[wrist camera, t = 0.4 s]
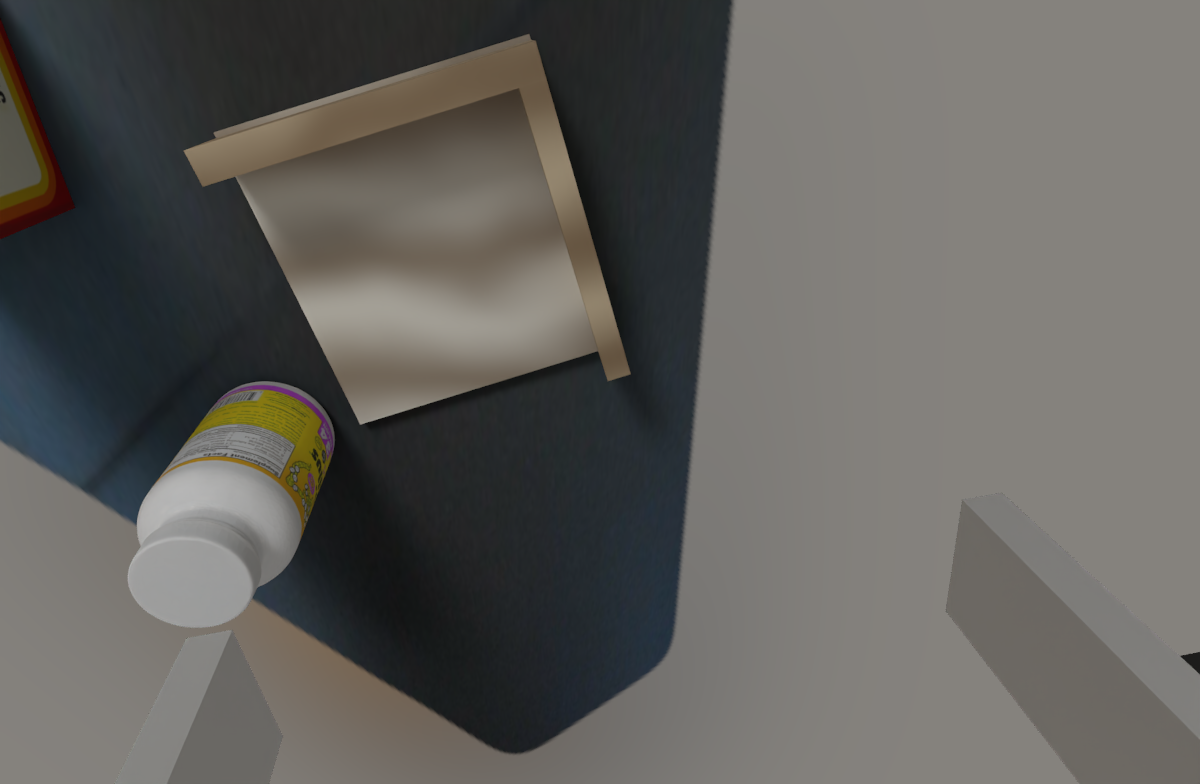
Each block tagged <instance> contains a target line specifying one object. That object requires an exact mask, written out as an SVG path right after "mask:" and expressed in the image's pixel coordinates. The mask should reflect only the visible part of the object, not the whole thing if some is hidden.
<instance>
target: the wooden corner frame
mask: <svg viewBox="0 0 1200 784" xmlns="http://www.w3.org/2000/svg"><path fill="white" fill-rule="evenodd" d="M214 135H215V137H216V138H215V139H213V140H210V141H208V142H205V143H202V144H200V145H197V146H194V147H192V148H189V149H187V150H184V152H185V154H186V156H187V158H188V160H189V162H190V163H191V165H192V167H193V169H194V171H195V173H196V175H197V177H198V179H199V181H200V182H201V184H202V186H206V185H210V184H213V183H216V182H219V181H222V180H226V179H229V178H232V177H236V179H237V181H238V183H239V184H240V186H241V188H242V190H243V192H244V194H245V196H246V198H247V200H248V202H249V204H250V206H251V208H252V210H253V212H254V214H255V216H256V218H257V220H258V222H259V224H260V226H261V228H262V230H263V232H264V234H265V236H266V238H267V240H268V242H269V244H270V246H271V248H272V250H273V252H274V254H275V256H276V258H277V260H278V262H279V264H280V266H281V268H282V270H283V272H284V274H285V276H286V278H287V280H288V282H289V284H290V286H291V288H292V290H293V292H294V294H295V296H296V298H297V300H298V302H299V304H300V306H301V308H302V310H303V312H304V314H305V316H306V318H307V320H308V322H309V324H310V326H311V327H312V329H313V331H314V333H315V335H316V337H317V339H318V341H319V343H320V345H321V347H322V349H323V351H324V353H325V355H326V357H327V359H328V361H329V363H330V365H331V367H332V369H333V371H334V373H335V375H336V377H337V379H338V381H339V383H340V385H341V387H342V389H343V391H344V393H345V395H346V397H347V399H348V401H349V403H350V405H351V407H352V409H353V411H354V413H355V415H356V417H357V419H358V421H359V423H360V425H361V424H364V423H367V422H370V421H374V420H377V419H380V418H383V417H387V416H390V415H393V414H396V413H399V412H403V411H406V410H409V409H412V408H416V407H419V406H422V405H425V404H429V403H432V402H435V401H438V400H442V399H445V398H448V397H451V396H454V395H458V394H461V393H464V392H467V391H471V390H474V389H477V388H480V387H484V386H487V385H490V384H493V383H496V382H500V381H503V380H506V379H509V378H513V377H516V376H519V375H522V374H526V373H529V372H532V371H535V370H538V369H542V368H545V367H548V366H551V365H555V364H558V363H561V362H564V361H568V360H571V359H574V358H577V357H580V356H584V355H587V354H590V353H593V352H597V351H598V352H599V355H600V358H601V362H602V365H603V368H604V371H605V374H606V377H607V380H608V381H610V380H613V379H617V378H620V377H623V376H626V375H629V374H630V370H629V367H628V363H627V360H626V356H625V353H624V349H623V346H622V342H621V339H620V335H619V332H618V328H617V325H616V321H615V318H614V314H613V311H612V307H611V304H610V300H609V297H608V293H607V290H606V286H605V283H604V279H603V276H602V272H601V269H600V265H599V262H598V258H597V254H596V251H595V247H594V244H593V240H592V237H591V233H590V230H589V226H588V223H587V219H586V216H585V212H584V209H583V205H582V202H581V198H580V195H579V191H578V188H577V184H576V181H575V177H574V174H573V170H572V167H571V163H570V160H569V156H568V153H567V149H566V146H565V142H564V139H563V135H562V132H561V128H560V125H559V121H558V118H557V114H556V111H555V107H554V104H553V100H552V97H551V93H550V90H549V86H548V83H547V79H546V76H545V72H544V69H543V65H542V62H541V58H540V55H539V51H538V48H537V44H536V41H534V40H531V38H530V35H529V34H527V35H524V36H521V37H518V38H514V39H511V40H508V41H505V42H502V43H498V44H495V45H492V46H489V47H486V48H482V49H479V50H476V51H473V52H470V53H466V54H463V55H460V56H457V57H454V58H450V59H447V60H444V61H441V62H438V63H434V64H431V65H428V66H425V67H422V68H418V69H415V70H412V71H409V72H406V73H402V74H399V75H396V76H393V77H389V78H386V79H383V80H380V81H377V82H373V83H370V84H367V85H364V86H361V87H357V88H354V89H351V90H348V91H345V92H341V93H338V94H335V95H332V96H329V97H325V98H322V99H319V100H316V101H313V102H309V103H306V104H303V105H300V106H297V107H293V108H290V109H287V110H284V111H281V112H277V113H274V114H271V115H268V116H264V117H261V118H258V119H255V120H252V121H248V122H245V123H242V124H239V125H236V126H232V127H229V128H226V129H223V130H220V131H217V132H214Z"/></svg>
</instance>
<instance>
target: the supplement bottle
mask: <svg viewBox="0 0 1200 784" xmlns="http://www.w3.org/2000/svg"><path fill="white" fill-rule="evenodd" d="M334 443H335V436H334V430H333V426H332V423H331V420H330V418H329V416H328V415H327V413H326V411H325V410H324V408H323V407H322V406H321V405H320V404H319V403H318V402H317V401H316V400H315V399H314V398H313V397H311V396H310V395H309V394H307V393H306V392H304V391H302V390H300V389H298V388H296V387H293V386H290V385H287V384H283V383H278V382H269V381H260V382H252V383H248V384H244V385H241V386H238V387H236V388H234V389H232V390H231V391H229V392H227V393H226V394H225V395H223V396H222V397H221V398H220V399H219V400H218V401H217V402H216V403H215V405H214V406H213V407H212V408H211V409H210V411H209V412H208V413H207V415H206V416H205V417H204V419H203V420H202V421H201V423H200V424H199V426H198V427H197V428H196V430H195V431H194V432H193V434H192V435H191V436H190V438H189V439H188V440H187V442H186V443H185V444H184V446H183V447H182V448H181V450H180V451H179V452H178V454H177V455H176V456H175V458H174V459H173V460H172V462H171V463H170V464H169V466H168V467H167V468H166V470H165V471H164V472H163V474H162V475H161V476H160V478H159V479H158V480H157V481H156V483H155V484H154V485H153V487H152V488H151V490H150V491H149V492H148V494H147V496H146V497H145V499H144V500H143V503H142V505H141V507H140V510H139V513H138V519H137V533H138V539H139V543H140V545H141V547H140V549H139V550H138V552H137V554H136V555H135V557H134V558H133V560H132V562H131V564H130V567H129V571H128V585H129V589H130V591H131V593H132V595H133V597H134V599H135V600H136V601H137V603H138V604H139V605H140V606H141V607H142V608H143V609H144V610H145V611H146V612H148V613H150V614H151V615H152V616H154V617H156V618H158V619H160V620H161V621H164V622H167V623H170V624H174V625H178V626H182V627H192V628H204V627H212V626H217V625H220V624H223V623H226V622H228V621H230V620H232V619H234V618H235V617H237V616H238V615H240V614H241V613H242V612H243V611H244V610H245V609H246V607H247V606H248V605H249V603H250V602H251V600H252V597H253V595H254V593H255V591H256V589H257V587H259V586H261V585H263V584H265V583H267V582H269V581H270V580H272V579H273V578H275V577H276V576H277V575H278V574H280V573H281V572H282V571H283V570H284V569H285V568H286V566H287V565H288V564H289V562H290V561H291V559H292V558H293V556H294V554H295V552H296V549H297V547H298V545H299V542H300V540H301V537H302V534H303V532H304V529H305V526H306V523H307V521H308V518H309V515H310V513H311V510H312V508H313V505H314V503H315V500H316V497H317V495H318V493H319V490H320V487H321V485H322V482H323V479H324V476H325V474H326V471H327V468H328V466H329V463H330V460H331V457H332V454H333V450H334Z"/></svg>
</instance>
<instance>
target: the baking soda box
mask: <svg viewBox="0 0 1200 784" xmlns="http://www.w3.org/2000/svg"><path fill="white" fill-rule="evenodd" d="M73 208H75V206H74V203H73V201H72V198H71V196H70V193H69V191H68V188H67V186H66V183H65V181H64V178H63V176H62V173H61V170H60V168H59V165H58V163H57V160H56V158H55V155H54V153H53V150H52V148H51V145H50V143H49V140H48V138H47V135H46V133H45V130H44V128H43V125H42V123H41V120H40V118H39V115H38V112H37V110H36V107H35V105H34V102H33V100H32V97H31V95H30V92H29V90H28V87H27V85H26V82H25V80H24V77H23V75H22V72H21V70H20V67H19V65H18V62H17V60H16V57H15V54H14V52H13V49H12V47H11V44H10V42H9V39H8V37H7V34H6V32H5V29H4V27H3V24H2V22H1V19H0V239H2V238H4V237H6V236H9V235H11V234H14V233H16V232H18V231H21V230H23V229H25V228H28V227H30V226H33V225H35V224H37V223H40V222H42V221H45V220H47V219H49V218H52V217H54V216H57V215H59V214H61V213H64V212H66V211H68V210H71V209H73Z"/></svg>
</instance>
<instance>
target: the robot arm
mask: <svg viewBox="0 0 1200 784" xmlns="http://www.w3.org/2000/svg"><path fill="white" fill-rule="evenodd" d="M946 612H947V613H948V615H949V616H950V617H951V618H952V620H953V621H954V622H955V623H956V625H957V626H958V627H959V629H960V630H961V631H962V632H963V634H964V635H965V636H966V638H967V639H968V640H969V642H970V643H971V644H972V646H973V647H974V648H975V649H976V651H977V652H978V653H979V655H980V656H981V657H982V658H983V660H984V661H985V662H986V664H987V665H988V666H989V667H990V669H991V670H992V671H993V673H994V674H995V675H996V676H997V678H998V679H999V680H1000V682H1001V683H1002V684H1003V686H1004V687H1005V688H1006V689H1007V691H1008V692H1009V693H1010V695H1011V696H1012V697H1013V698H1014V700H1015V701H1016V702H1017V704H1018V705H1019V706H1020V707H1021V709H1022V710H1023V711H1024V713H1025V714H1026V715H1027V717H1028V718H1029V719H1030V720H1031V722H1032V723H1033V724H1034V726H1035V727H1036V728H1037V729H1038V731H1039V732H1040V733H1041V734H1042V736H1043V737H1044V738H1045V740H1046V741H1047V742H1048V744H1049V745H1050V746H1051V748H1052V749H1053V750H1054V751H1055V753H1056V754H1057V755H1058V756H1059V758H1060V759H1061V760H1062V762H1063V763H1064V764H1065V765H1066V767H1067V768H1068V770H1069V771H1070V772H1071V773H1072V775H1073V776H1074V777H1075V778H1076V780H1077V781H1078V782H1079V784H1200V652H1198V653H1193V654H1188V655H1183V656H1179V655H1178V654H1177V653H1176V652H1175V651H1174V650H1173V649H1172V648H1171V647H1169V646H1168V645H1167V644H1166V643H1165V642H1164V641H1163V640H1162V639H1161V638H1160V637H1158V636H1157V635H1156V634H1155V633H1154V632H1153V631H1152V630H1151V629H1150V628H1149V627H1148V626H1147V625H1145V624H1144V623H1143V622H1142V621H1141V620H1140V619H1139V618H1138V617H1137V616H1136V615H1135V614H1133V613H1132V612H1131V611H1130V610H1129V609H1128V608H1127V607H1126V606H1125V605H1124V604H1122V603H1121V602H1120V601H1119V600H1118V599H1117V598H1116V597H1115V596H1114V595H1113V594H1112V593H1111V592H1110V591H1108V590H1107V589H1106V588H1105V587H1104V586H1103V585H1102V584H1101V583H1100V582H1099V581H1098V580H1097V579H1095V578H1094V577H1093V576H1092V575H1091V574H1090V573H1089V572H1088V571H1087V570H1085V569H1084V568H1083V567H1082V566H1081V565H1080V564H1079V563H1078V562H1077V561H1076V560H1075V559H1073V557H1071V556H1070V555H1069V554H1068V553H1067V552H1066V551H1065V550H1064V549H1063V548H1062V547H1061V546H1059V545H1058V544H1057V543H1056V542H1055V541H1054V540H1053V539H1052V538H1051V537H1050V536H1048V535H1047V534H1046V533H1045V532H1044V531H1043V530H1042V529H1041V528H1040V527H1039V526H1038V525H1037V524H1036V523H1034V522H1033V521H1032V520H1031V519H1030V518H1029V517H1028V516H1027V515H1026V514H1025V513H1023V512H1022V511H1021V510H1020V509H1019V508H1018V507H1017V506H1016V505H1015V504H1014V503H1013V502H1012V501H1010V500H1009V499H1008V498H1007V497H1006V496H1005V495H1004V494H1003V493H997V494H992V495H986V496H980V497H975V498H969V499H963V500H962V505H961V512H960V518H959V525H958V532H957V538H956V545H955V552H954V559H953V565H952V572H951V579H950V585H949V592H948V599H947V605H946ZM282 737H283V735H282V733H281V731H280V729H279V727H278V725H277V723H276V721H275V719H274V717H273V714H272V712H271V710H270V708H269V706H268V704H267V702H266V700H265V698H264V696H263V694H262V691H261V689H260V687H259V685H258V683H257V681H256V679H255V677H254V674H253V673H252V670H251V668H250V666H249V664H248V662H247V660H246V658H245V656H244V653H243V651H242V649H241V647H240V645H239V643H238V641H237V639H236V637H235V635H234V632H233V630H229V631H224V632H218V633H212V634H206V635H201V636H195V637H190V638H186V640H185V642H184V644H183V646H182V648H181V650H180V652H179V654H178V656H177V658H176V660H175V662H174V664H173V666H172V668H171V670H170V672H169V674H168V677H167V679H166V681H165V682H164V684H163V686H162V688H161V691H160V693H159V695H158V697H157V699H156V701H155V703H154V705H153V707H152V709H151V711H150V713H149V715H148V717H147V719H146V721H145V723H144V725H143V727H142V729H141V731H140V733H139V735H138V737H137V739H136V741H135V743H134V745H133V747H132V749H131V751H130V753H129V755H128V757H127V760H126V761H125V763H124V765H123V767H122V769H121V771H120V773H119V775H118V777H117V779H116V781H115V783H114V784H269V782H270V778H271V775H272V771H273V768H274V765H275V761H276V758H277V754H278V751H279V747H280V744H281V741H282Z"/></svg>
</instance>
